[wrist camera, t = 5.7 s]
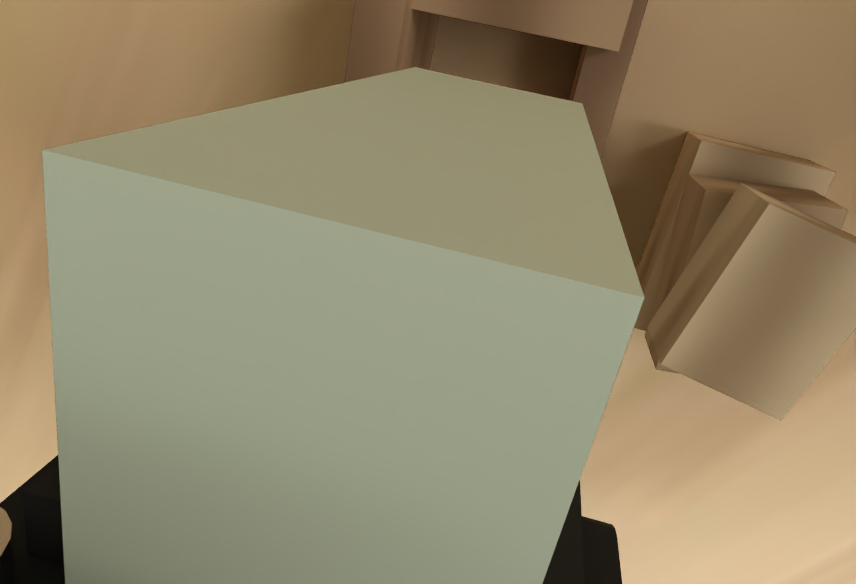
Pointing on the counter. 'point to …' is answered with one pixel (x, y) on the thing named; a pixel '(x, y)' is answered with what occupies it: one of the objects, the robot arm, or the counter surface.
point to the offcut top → (760, 303)
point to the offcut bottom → (723, 163)
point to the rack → (516, 10)
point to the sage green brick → (333, 336)
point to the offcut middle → (700, 214)
